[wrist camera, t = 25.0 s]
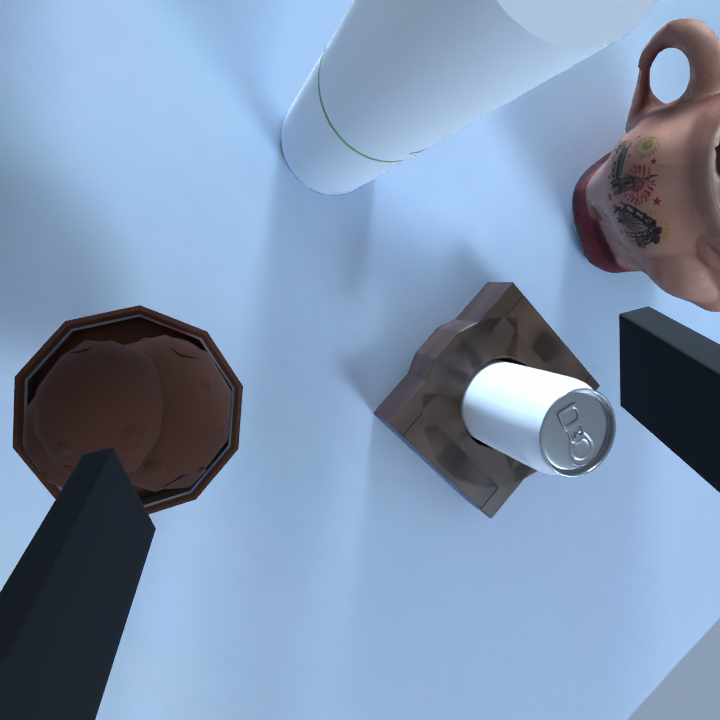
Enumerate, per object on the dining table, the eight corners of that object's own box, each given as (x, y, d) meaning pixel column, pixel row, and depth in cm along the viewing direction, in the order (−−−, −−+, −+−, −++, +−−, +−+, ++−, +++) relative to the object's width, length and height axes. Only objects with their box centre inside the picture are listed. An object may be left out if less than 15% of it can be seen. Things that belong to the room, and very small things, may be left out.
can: (460, 447, 44) (555, 503, 33) (430, 380, 43) (519, 414, 31) (522, 409, 46) (633, 450, 34) (495, 342, 44) (603, 362, 33)
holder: (367, 407, 41) (383, 418, 38) (482, 276, 43) (507, 275, 40) (473, 506, 45) (496, 524, 42) (575, 383, 47) (604, 390, 44)
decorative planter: (504, 111, 42) (652, 30, 28) (620, 49, 44) (805, -52, 31) (592, 333, 47) (751, 351, 34) (691, 267, 49) (875, 260, 36)
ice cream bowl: (55, 463, 35) (-34, 584, 21) (61, 292, 34) (-28, 297, 20) (222, 463, 38) (243, 567, 24) (233, 307, 37) (262, 320, 23)
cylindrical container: (393, 173, 39) (703, 6, 16) (307, 210, 38) (509, 84, 14) (356, 75, 38) (642, -279, 14) (263, 109, 36) (412, -226, 13)
